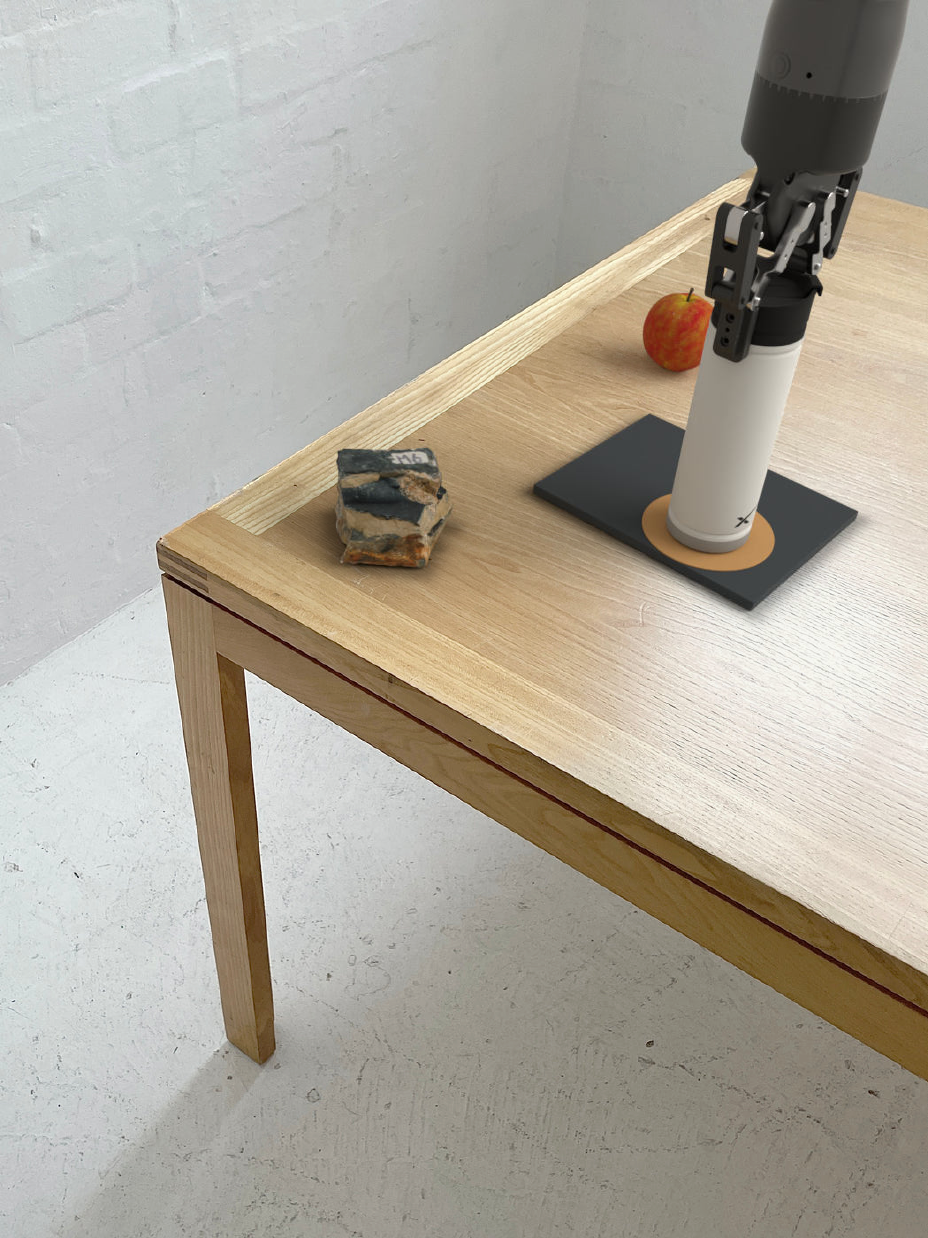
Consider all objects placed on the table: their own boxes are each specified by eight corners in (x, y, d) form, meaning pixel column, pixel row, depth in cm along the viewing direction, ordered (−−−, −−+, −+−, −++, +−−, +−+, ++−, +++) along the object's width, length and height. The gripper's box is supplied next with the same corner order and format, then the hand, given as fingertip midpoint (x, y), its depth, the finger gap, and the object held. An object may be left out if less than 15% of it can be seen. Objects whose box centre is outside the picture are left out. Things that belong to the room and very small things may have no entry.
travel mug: (759, 557, 83) (834, 301, 70) (670, 552, 83) (728, 294, 70) (745, 508, 88) (812, 260, 75) (660, 503, 88) (713, 253, 75)
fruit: (626, 351, 108) (640, 271, 103) (693, 346, 110) (710, 267, 104) (653, 387, 103) (668, 305, 98) (722, 382, 105) (742, 301, 99)
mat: (856, 519, 89) (859, 510, 89) (750, 611, 80) (753, 601, 79) (648, 420, 99) (649, 411, 98) (532, 492, 89) (533, 483, 89)
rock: (341, 574, 80) (340, 509, 76) (332, 498, 87) (331, 434, 83) (461, 569, 81) (466, 504, 78) (443, 494, 88) (447, 431, 85)
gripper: (821, 112, 58) (748, 399, 69) (938, 65, 67) (857, 327, 78) (698, 76, 62) (647, 355, 73) (824, 36, 70) (762, 291, 81)
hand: (756, 339), depth 75 cm, fingers closed on travel mug, 6 cm apart
